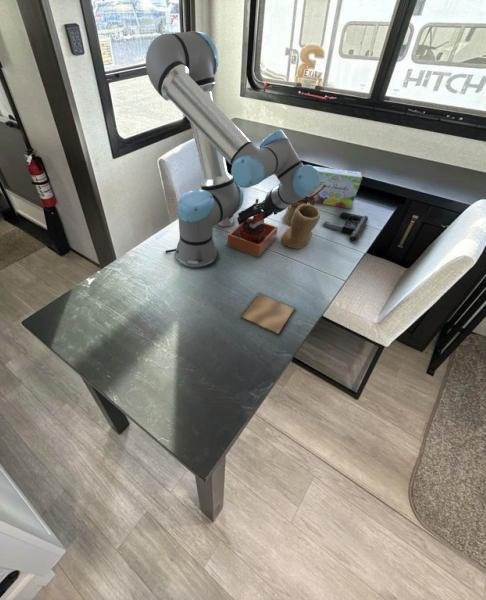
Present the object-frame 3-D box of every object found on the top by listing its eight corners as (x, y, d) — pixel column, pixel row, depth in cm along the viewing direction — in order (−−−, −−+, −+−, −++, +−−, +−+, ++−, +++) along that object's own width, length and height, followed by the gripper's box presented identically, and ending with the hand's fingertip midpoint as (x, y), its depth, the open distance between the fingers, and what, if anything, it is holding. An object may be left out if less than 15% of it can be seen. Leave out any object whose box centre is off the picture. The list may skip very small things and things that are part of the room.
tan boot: (304, 255, 118) (314, 219, 108) (275, 244, 123) (282, 209, 112) (319, 237, 127) (329, 202, 116) (292, 227, 132) (300, 193, 121)
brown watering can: (311, 230, 130) (323, 189, 118) (280, 222, 135) (288, 181, 122) (316, 220, 136) (328, 180, 123) (286, 213, 140) (295, 173, 128)
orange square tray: (227, 245, 122) (227, 234, 118) (245, 227, 131) (247, 217, 128) (258, 257, 117) (260, 246, 113) (275, 237, 126) (277, 227, 123)
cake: (252, 232, 129) (257, 190, 116) (269, 242, 124) (277, 199, 111) (233, 241, 124) (237, 198, 111) (250, 252, 119) (256, 208, 106)
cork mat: (241, 317, 95) (241, 316, 95) (259, 294, 102) (259, 293, 102) (278, 334, 91) (278, 333, 90) (293, 309, 98) (294, 308, 97)
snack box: (304, 202, 148) (312, 170, 137) (305, 196, 152) (312, 165, 141) (351, 209, 144) (362, 176, 133) (350, 203, 148) (362, 171, 137)
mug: (231, 227, 131) (232, 212, 127) (216, 225, 132) (216, 211, 127) (234, 215, 138) (235, 201, 134) (219, 213, 139) (219, 199, 134)
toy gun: (319, 227, 128) (360, 237, 121) (334, 207, 140) (372, 215, 133) (318, 234, 130) (358, 244, 123) (332, 214, 142) (369, 222, 135)
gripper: (253, 216, 95) (227, 234, 117) (313, 202, 102) (278, 221, 123) (246, 192, 95) (221, 214, 116) (307, 180, 102) (273, 203, 123)
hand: (251, 218), depth 120 cm, fingers closed on cake, 10 cm apart
